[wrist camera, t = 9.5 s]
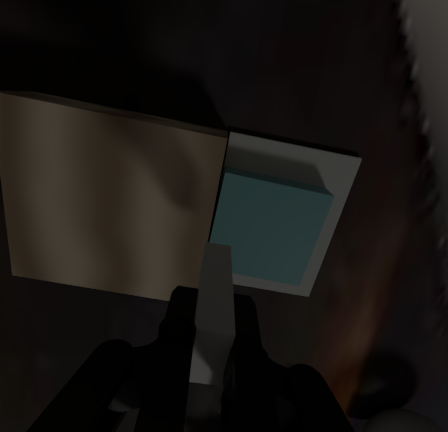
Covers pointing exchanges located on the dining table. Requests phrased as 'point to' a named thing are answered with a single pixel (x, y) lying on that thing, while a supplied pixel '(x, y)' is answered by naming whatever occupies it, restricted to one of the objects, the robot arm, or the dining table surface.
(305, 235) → the teal block
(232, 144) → the mat
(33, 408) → the dining table surface
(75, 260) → the serving board
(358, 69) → the dining table surface
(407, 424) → the donut
